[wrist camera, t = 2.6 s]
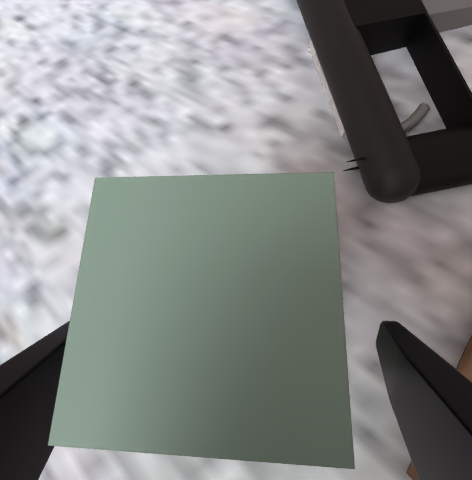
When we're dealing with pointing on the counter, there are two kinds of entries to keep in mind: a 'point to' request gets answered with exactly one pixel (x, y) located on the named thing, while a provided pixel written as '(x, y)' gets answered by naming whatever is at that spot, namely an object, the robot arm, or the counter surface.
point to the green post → (209, 322)
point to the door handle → (377, 100)
